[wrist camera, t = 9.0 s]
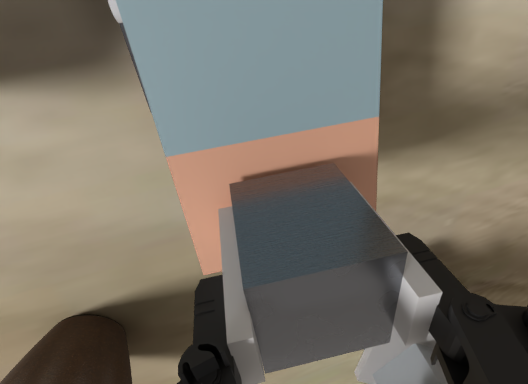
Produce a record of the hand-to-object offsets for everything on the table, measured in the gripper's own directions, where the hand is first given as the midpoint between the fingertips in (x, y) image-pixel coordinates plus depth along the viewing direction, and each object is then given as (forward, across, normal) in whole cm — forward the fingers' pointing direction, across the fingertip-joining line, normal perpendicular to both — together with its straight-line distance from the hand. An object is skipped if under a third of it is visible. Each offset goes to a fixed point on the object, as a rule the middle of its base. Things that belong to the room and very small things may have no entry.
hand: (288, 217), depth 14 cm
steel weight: (0, 0, 0) cm, 0 cm away
